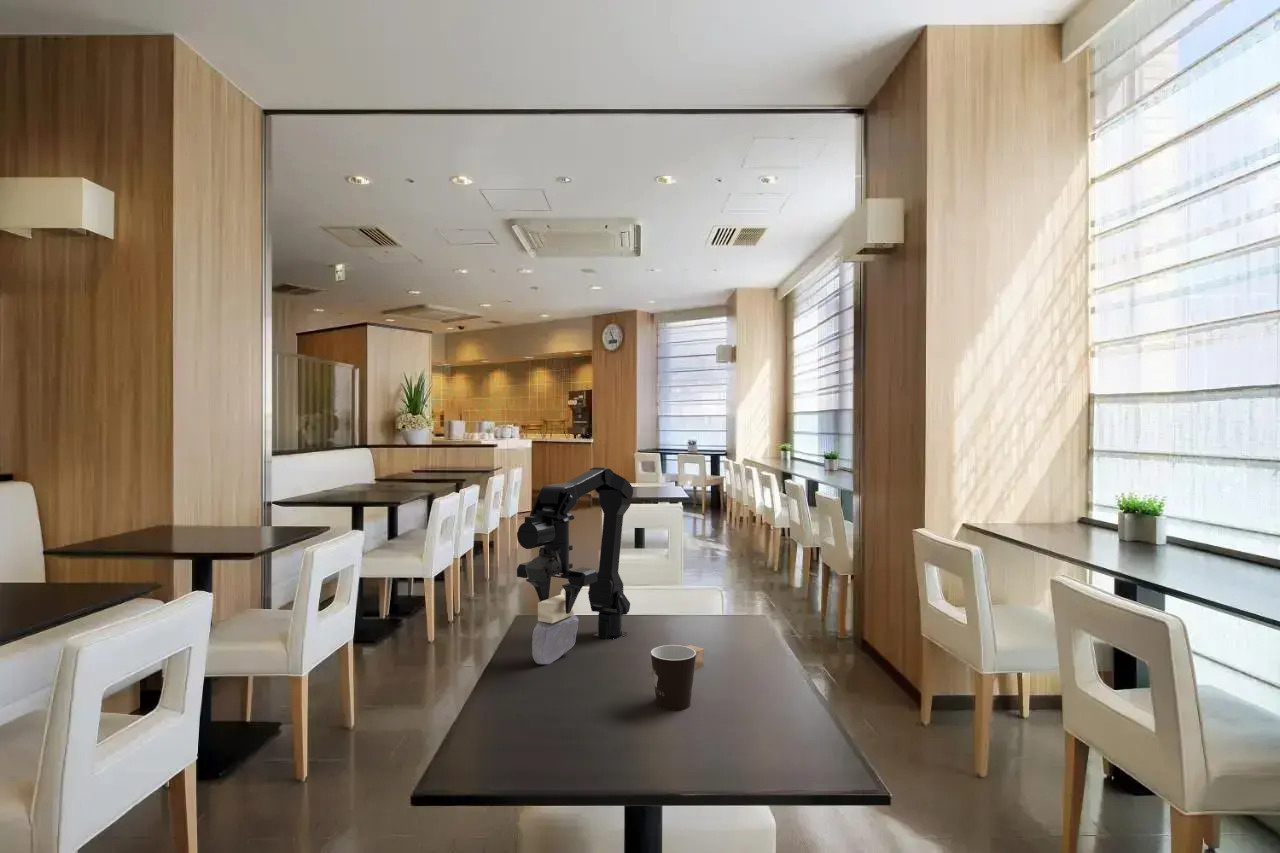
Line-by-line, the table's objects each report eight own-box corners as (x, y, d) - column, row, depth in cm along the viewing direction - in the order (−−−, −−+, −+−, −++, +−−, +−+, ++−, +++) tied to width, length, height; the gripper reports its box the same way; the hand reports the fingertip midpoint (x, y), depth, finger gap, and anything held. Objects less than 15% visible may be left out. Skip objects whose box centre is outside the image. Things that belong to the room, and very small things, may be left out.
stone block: (544, 671, 148) (544, 625, 148) (529, 666, 151) (529, 621, 151) (581, 656, 158) (582, 613, 158) (566, 652, 161) (566, 609, 160)
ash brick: (559, 612, 159) (559, 594, 159) (573, 614, 157) (573, 597, 157) (537, 620, 152) (537, 602, 152) (552, 623, 150) (552, 605, 150)
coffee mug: (693, 716, 126) (693, 661, 126) (646, 712, 128) (646, 658, 128) (700, 691, 137) (700, 641, 137) (657, 688, 139) (657, 639, 139)
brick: (689, 662, 155) (689, 644, 155) (703, 666, 152) (703, 648, 152) (666, 672, 149) (666, 653, 149) (681, 676, 146) (681, 658, 146)
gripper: (500, 543, 152) (500, 614, 152) (569, 551, 143) (569, 627, 143) (532, 536, 162) (532, 602, 162) (598, 543, 152) (598, 613, 152)
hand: (556, 611), depth 154 cm, fingers open, 6 cm apart
